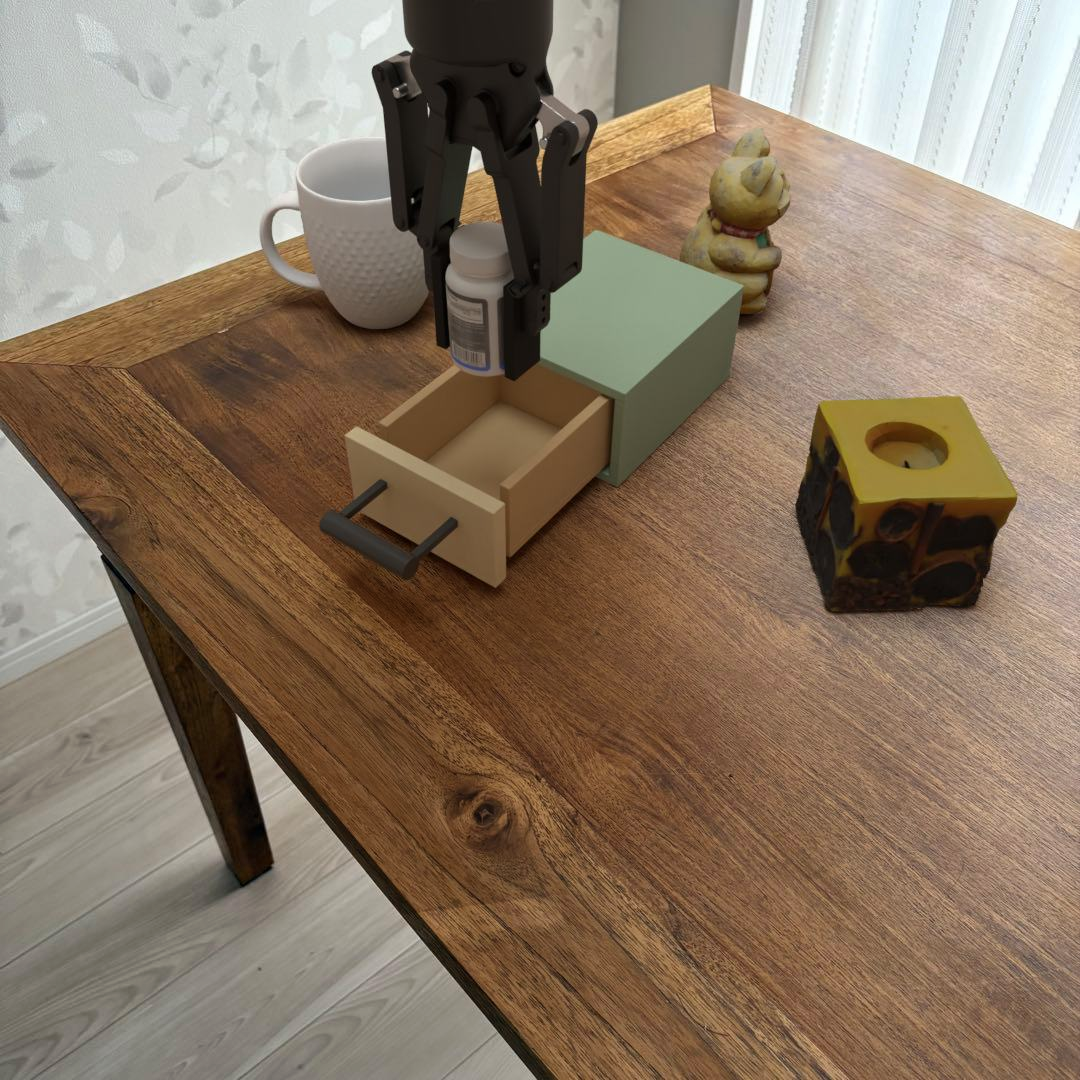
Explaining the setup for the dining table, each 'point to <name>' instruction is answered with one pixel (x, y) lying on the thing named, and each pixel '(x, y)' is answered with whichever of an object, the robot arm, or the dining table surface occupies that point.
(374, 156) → the mug
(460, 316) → the pill bottle
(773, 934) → the dining table surface
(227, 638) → the dining table surface
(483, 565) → the drawer
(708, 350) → the cabinet
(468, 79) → the robot arm
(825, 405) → the candle
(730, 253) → the decorative figurine
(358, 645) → the dining table surface
